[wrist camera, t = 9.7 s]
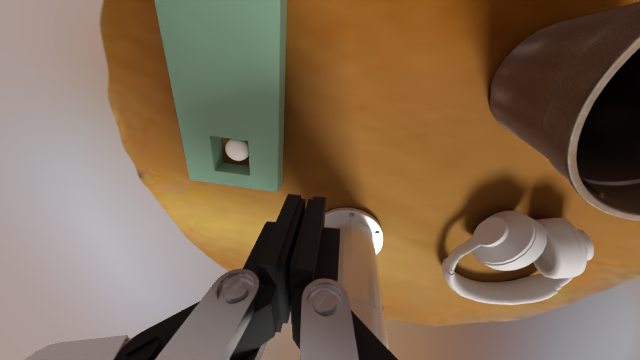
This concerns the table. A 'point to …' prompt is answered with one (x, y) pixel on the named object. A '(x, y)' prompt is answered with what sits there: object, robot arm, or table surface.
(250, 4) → the green board
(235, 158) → the ball
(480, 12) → the table surface
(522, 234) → the headphones
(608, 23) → the plant pot
